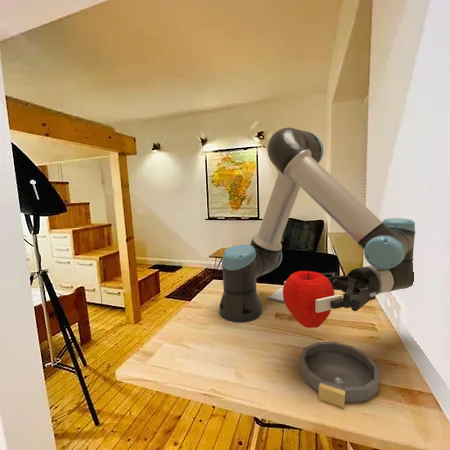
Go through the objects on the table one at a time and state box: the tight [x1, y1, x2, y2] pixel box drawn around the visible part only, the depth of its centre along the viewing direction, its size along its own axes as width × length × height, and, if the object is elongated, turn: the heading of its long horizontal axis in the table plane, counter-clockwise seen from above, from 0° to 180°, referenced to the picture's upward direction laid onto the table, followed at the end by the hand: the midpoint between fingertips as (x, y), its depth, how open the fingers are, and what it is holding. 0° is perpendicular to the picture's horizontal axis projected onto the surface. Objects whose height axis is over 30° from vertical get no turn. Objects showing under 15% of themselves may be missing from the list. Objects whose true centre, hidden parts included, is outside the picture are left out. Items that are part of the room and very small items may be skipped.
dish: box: [299, 341, 381, 409], centre depth 63 cm, size 17×18×3 cm
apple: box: [283, 270, 335, 329], centre depth 65 cm, size 12×12×13 cm
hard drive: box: [267, 286, 285, 304], centre depth 108 cm, size 2×8×12 cm
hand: (299, 295), depth 64 cm, fingers closed on apple, 12 cm apart
